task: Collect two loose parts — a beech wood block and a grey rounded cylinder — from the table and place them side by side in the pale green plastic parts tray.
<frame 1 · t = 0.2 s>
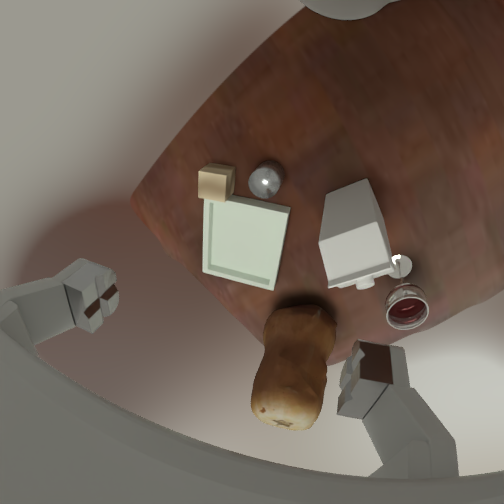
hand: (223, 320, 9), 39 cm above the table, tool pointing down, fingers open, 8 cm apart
wineglass: (398, 266, 49), on the table
parts tray: (244, 238, 54), on the table
beech block: (222, 177, 49), on the table
milk carton: (355, 204, 46), on the table
grey rounded cylinder: (270, 173, 47), on the table
butternut squash: (305, 312, 60), on the table
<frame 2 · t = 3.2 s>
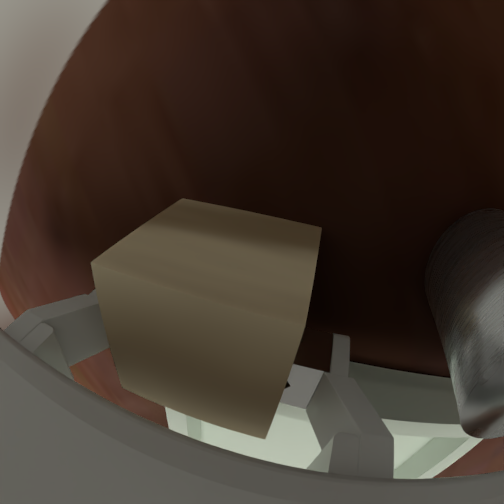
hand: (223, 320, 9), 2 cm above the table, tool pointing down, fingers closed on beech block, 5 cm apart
parts tray: (304, 447, 15), on the table
beech block: (241, 272, 10), on the table, touching gripper
grey rounded cylinder: (481, 271, 8), on the table
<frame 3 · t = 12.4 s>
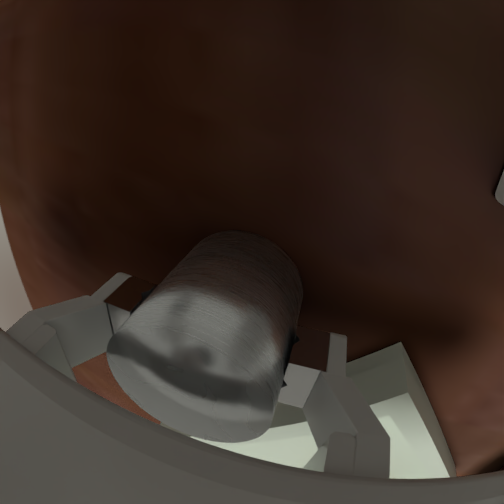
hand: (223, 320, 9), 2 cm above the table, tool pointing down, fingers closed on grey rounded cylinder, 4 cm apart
parts tray: (331, 457, 15), on the table
grey rounded cylinder: (241, 287, 11), on the table, touching gripper
when the fingers open (5 cm above the table, at t = 16.9 s): grey rounded cylinder drops 2 cm, resting on parts tray.
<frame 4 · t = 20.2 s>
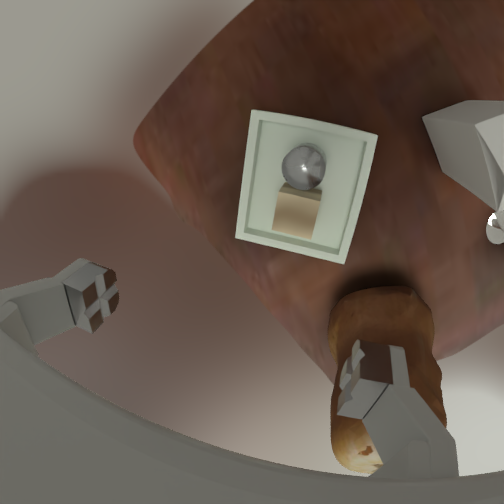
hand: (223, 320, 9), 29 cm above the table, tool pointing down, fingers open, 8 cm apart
wineglass: (499, 226, 30), on the table
parts tray: (304, 184, 36), on the table
beech block: (300, 203, 36), point 1 cm above the table, touching parts tray
milk carton: (454, 135, 28), on the table
grey rounded cylinder: (307, 161, 33), point 1 cm above the table, touching parts tray
butternut squash: (377, 302, 40), on the table
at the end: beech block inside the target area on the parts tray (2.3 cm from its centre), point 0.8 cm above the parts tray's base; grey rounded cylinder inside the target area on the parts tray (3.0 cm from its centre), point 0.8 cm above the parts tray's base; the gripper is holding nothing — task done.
